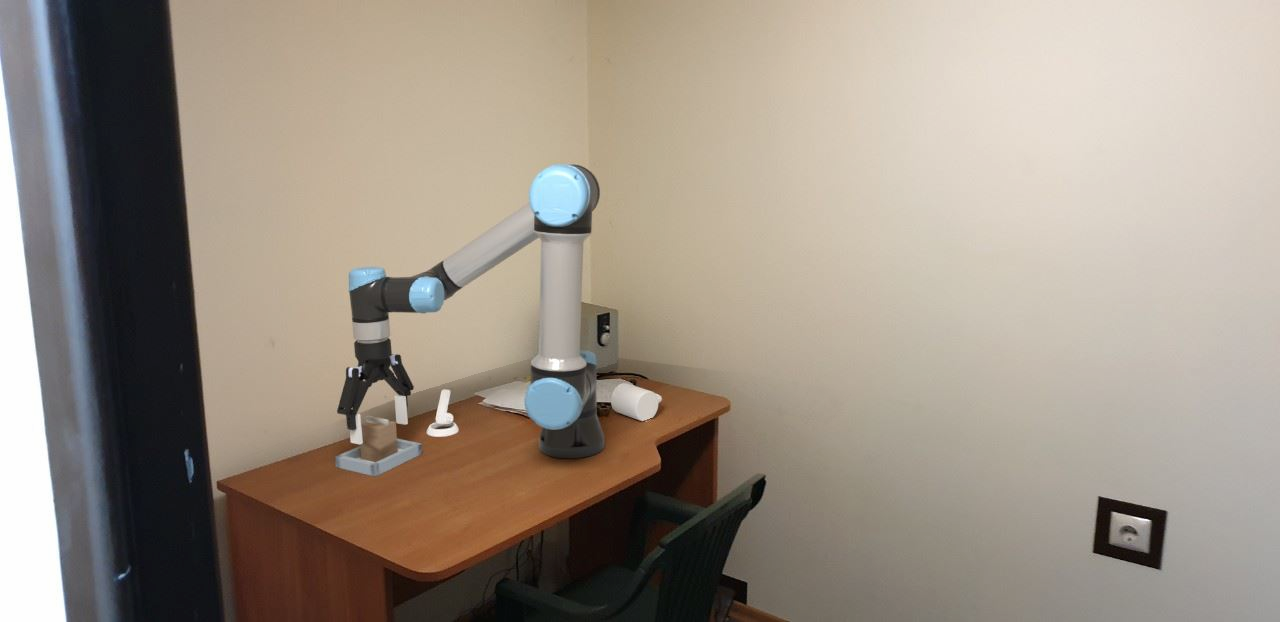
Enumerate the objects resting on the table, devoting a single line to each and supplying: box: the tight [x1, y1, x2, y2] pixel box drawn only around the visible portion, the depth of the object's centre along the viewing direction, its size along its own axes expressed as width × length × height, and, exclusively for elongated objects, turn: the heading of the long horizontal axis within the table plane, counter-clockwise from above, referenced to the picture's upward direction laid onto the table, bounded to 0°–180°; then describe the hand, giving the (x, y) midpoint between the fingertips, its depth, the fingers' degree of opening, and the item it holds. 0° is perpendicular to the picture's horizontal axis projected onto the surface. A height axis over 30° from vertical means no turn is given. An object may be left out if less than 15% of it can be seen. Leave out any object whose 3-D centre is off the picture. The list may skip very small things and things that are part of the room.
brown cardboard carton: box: [359, 415, 398, 462], centre depth 170 cm, size 6×5×9 cm
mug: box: [610, 382, 663, 422], centre depth 201 cm, size 12×10×8 cm
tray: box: [334, 438, 423, 477], centre depth 171 cm, size 11×14×2 cm
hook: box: [426, 389, 459, 438], centre depth 191 cm, size 8×12×7 cm
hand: (380, 433), depth 170 cm, fingers open, 13 cm apart
